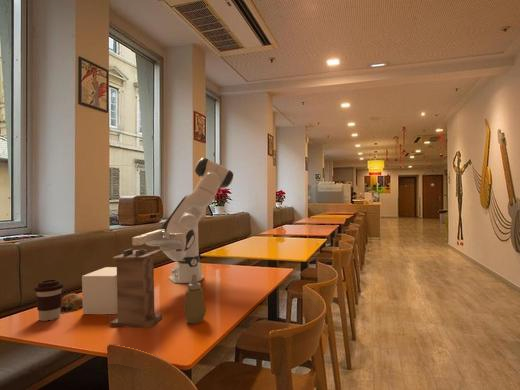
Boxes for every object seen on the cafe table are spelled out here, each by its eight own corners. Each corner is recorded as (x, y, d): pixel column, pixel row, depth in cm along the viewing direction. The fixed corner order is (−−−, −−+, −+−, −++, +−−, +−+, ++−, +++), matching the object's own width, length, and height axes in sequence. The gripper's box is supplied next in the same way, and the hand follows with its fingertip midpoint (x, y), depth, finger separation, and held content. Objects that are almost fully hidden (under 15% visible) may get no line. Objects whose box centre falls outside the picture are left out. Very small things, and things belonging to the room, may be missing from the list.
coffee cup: (45, 314, 145) (45, 278, 145) (68, 314, 145) (68, 278, 145) (29, 322, 135) (28, 284, 135) (54, 322, 135) (53, 284, 135)
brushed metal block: (159, 235, 162) (158, 229, 162) (165, 235, 162) (165, 229, 162) (132, 245, 136) (132, 237, 136) (139, 245, 136) (139, 237, 136)
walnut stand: (131, 311, 146) (130, 245, 146) (168, 311, 144) (166, 244, 144) (108, 327, 128) (107, 252, 128) (150, 328, 126) (148, 251, 127)
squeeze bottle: (185, 318, 136) (184, 272, 136) (206, 317, 137) (205, 271, 137) (183, 326, 128) (181, 277, 128) (205, 324, 129) (204, 276, 129)
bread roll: (85, 314, 155) (91, 296, 158) (67, 311, 146) (74, 292, 149) (68, 312, 158) (74, 294, 161) (50, 309, 149) (56, 290, 152)
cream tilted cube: (106, 301, 161) (105, 267, 161) (135, 301, 160) (134, 267, 160) (82, 314, 143) (81, 276, 143) (114, 315, 142) (114, 276, 142)
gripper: (149, 238, 172) (138, 226, 160) (189, 238, 170) (180, 226, 158) (147, 250, 169) (135, 239, 157) (187, 250, 167) (178, 239, 155)
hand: (158, 232), depth 158 cm, fingers closed on brushed metal block, 3 cm apart
